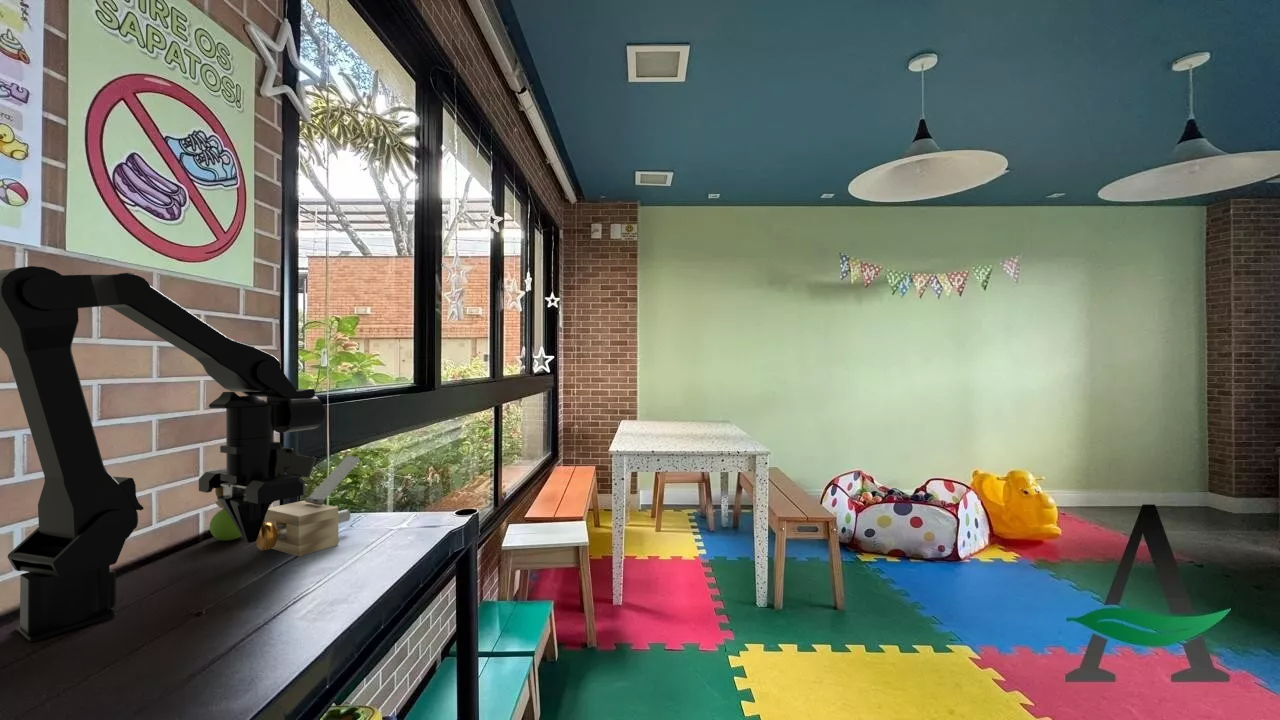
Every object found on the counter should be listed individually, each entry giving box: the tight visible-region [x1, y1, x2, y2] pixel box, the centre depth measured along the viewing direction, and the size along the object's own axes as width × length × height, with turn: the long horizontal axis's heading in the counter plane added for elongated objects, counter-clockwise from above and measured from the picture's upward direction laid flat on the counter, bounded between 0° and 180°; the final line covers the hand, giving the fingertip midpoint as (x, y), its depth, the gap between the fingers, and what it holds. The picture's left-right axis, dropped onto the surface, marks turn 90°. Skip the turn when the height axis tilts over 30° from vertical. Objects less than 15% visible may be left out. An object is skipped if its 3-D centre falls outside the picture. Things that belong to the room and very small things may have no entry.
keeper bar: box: [304, 455, 361, 505], centre depth 88 cm, size 9×4×1 cm
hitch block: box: [264, 500, 339, 557], centre depth 84 cm, size 6×10×6 cm, turn 61°
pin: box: [255, 509, 351, 551], centre depth 84 cm, size 13×4×4 cm, turn 151°
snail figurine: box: [209, 487, 242, 542], centre depth 87 cm, size 5×6×12 cm
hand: (251, 541), depth 78 cm, fingers closed, pressing on pin
